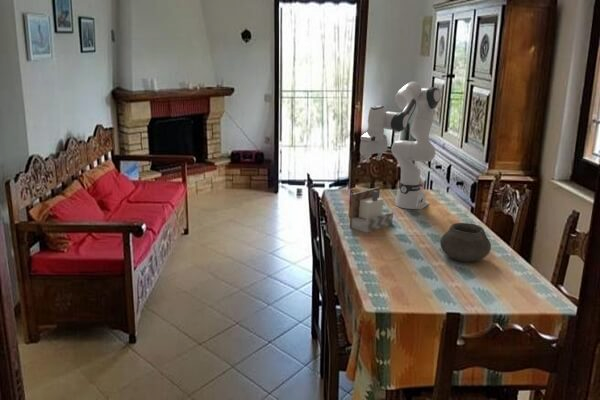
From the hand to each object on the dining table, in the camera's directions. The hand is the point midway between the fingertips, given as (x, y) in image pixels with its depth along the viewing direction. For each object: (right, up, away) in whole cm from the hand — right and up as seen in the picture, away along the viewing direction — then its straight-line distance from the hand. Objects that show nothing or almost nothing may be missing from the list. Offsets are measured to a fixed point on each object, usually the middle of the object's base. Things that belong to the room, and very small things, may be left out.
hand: (373, 161), depth 281 cm
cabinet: (-2, -29, -7) cm, 30 cm away
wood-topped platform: (-2, -34, -7) cm, 35 cm away
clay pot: (+35, -48, -46) cm, 75 cm away
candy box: (-8, -30, +8) cm, 32 cm away
